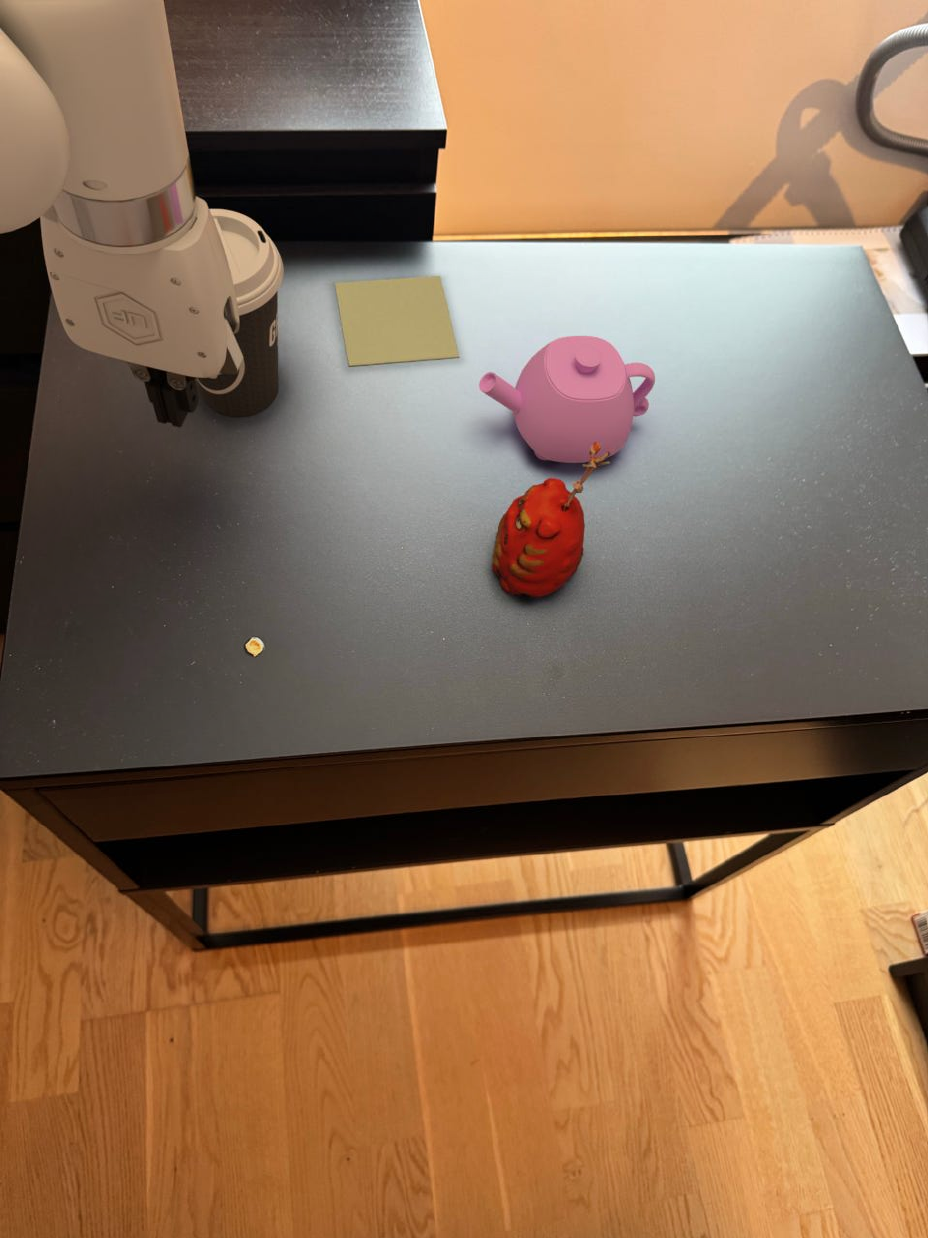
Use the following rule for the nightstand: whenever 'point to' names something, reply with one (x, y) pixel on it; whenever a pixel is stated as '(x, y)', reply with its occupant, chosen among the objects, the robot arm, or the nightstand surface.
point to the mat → (395, 321)
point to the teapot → (574, 398)
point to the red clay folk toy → (542, 536)
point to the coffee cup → (249, 318)
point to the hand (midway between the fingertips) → (177, 409)
